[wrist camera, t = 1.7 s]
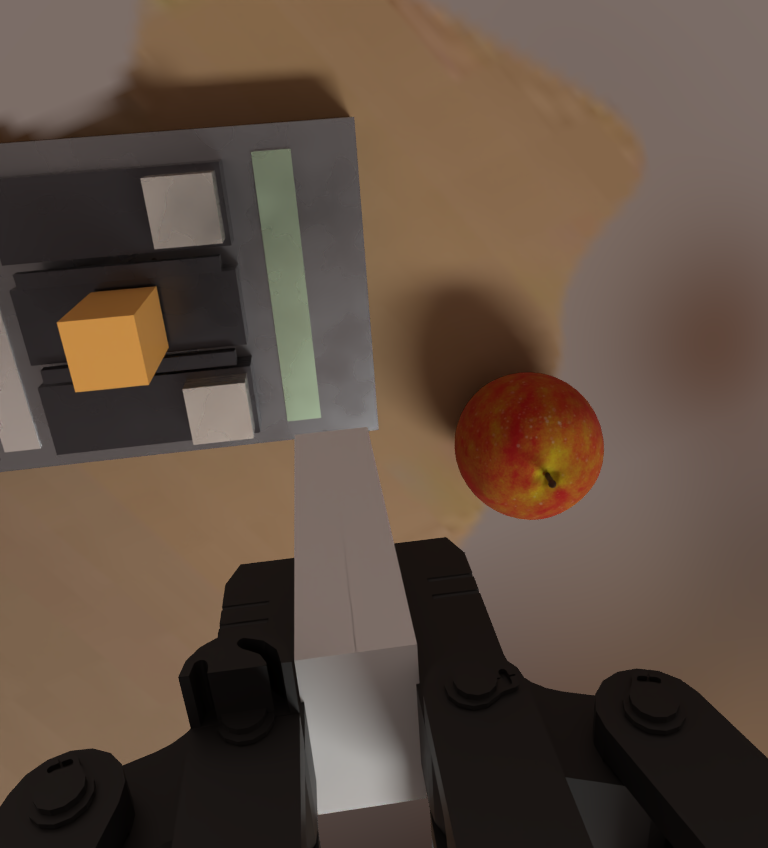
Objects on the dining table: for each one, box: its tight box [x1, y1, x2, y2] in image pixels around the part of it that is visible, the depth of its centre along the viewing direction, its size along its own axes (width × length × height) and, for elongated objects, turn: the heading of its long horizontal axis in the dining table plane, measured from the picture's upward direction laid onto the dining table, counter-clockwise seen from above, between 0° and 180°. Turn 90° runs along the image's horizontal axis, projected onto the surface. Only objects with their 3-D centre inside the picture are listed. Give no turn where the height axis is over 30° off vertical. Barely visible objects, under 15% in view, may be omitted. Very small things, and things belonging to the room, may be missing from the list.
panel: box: [0, 117, 379, 472], centre depth 30 cm, size 20×14×5 cm
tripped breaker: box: [57, 286, 169, 392], centre depth 27 cm, size 3×3×4 cm
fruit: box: [455, 372, 604, 520], centre depth 33 cm, size 7×7×8 cm
